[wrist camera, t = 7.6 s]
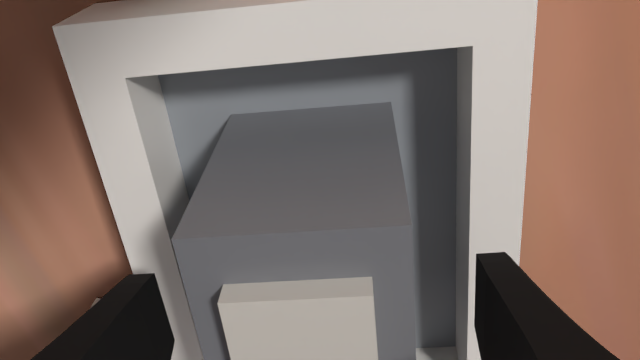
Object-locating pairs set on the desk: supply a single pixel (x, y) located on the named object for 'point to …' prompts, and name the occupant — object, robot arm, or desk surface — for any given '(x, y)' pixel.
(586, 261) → the desk surface
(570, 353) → the robot arm
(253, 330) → the connector plug
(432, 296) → the tray
